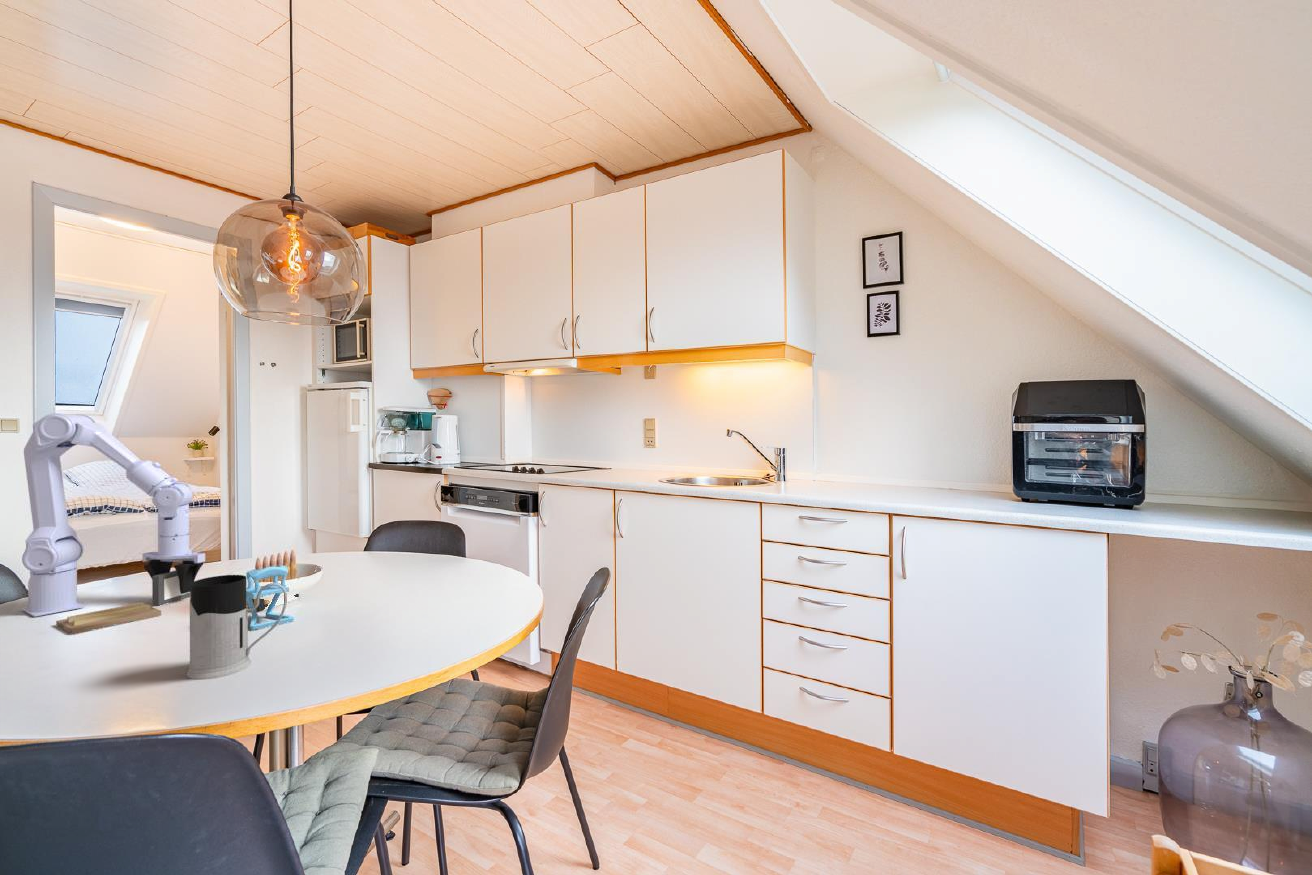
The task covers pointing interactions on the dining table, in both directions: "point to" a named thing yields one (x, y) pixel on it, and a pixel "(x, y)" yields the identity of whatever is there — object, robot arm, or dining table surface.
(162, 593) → the grey upright slab
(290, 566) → the ammunition clip
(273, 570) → the chair
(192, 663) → the glass holder
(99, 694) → the dining table surface
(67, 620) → the board
